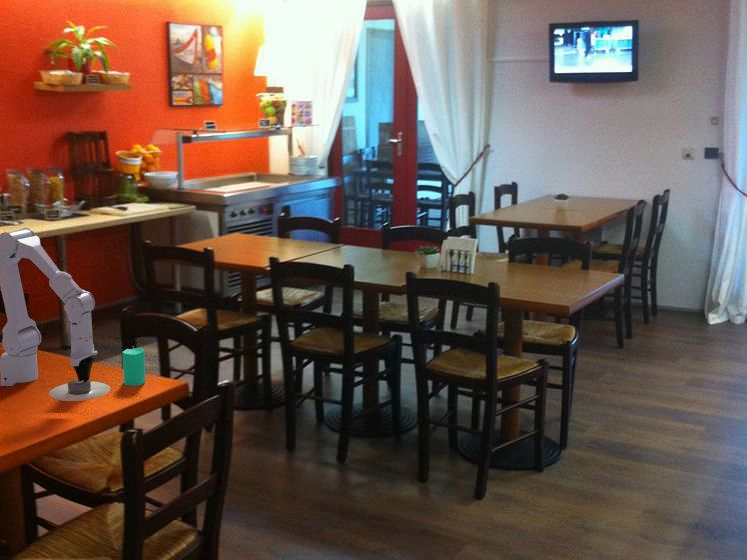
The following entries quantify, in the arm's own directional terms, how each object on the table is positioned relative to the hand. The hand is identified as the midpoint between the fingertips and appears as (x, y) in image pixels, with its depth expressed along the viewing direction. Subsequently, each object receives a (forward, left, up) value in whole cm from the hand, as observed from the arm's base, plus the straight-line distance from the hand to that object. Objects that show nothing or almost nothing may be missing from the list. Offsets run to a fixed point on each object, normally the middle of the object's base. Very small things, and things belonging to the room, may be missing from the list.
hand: (84, 383), depth 251 cm
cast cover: (0, -4, -1) cm, 4 cm away
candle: (+13, +4, -2) cm, 14 cm away
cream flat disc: (0, -4, -2) cm, 4 cm away
